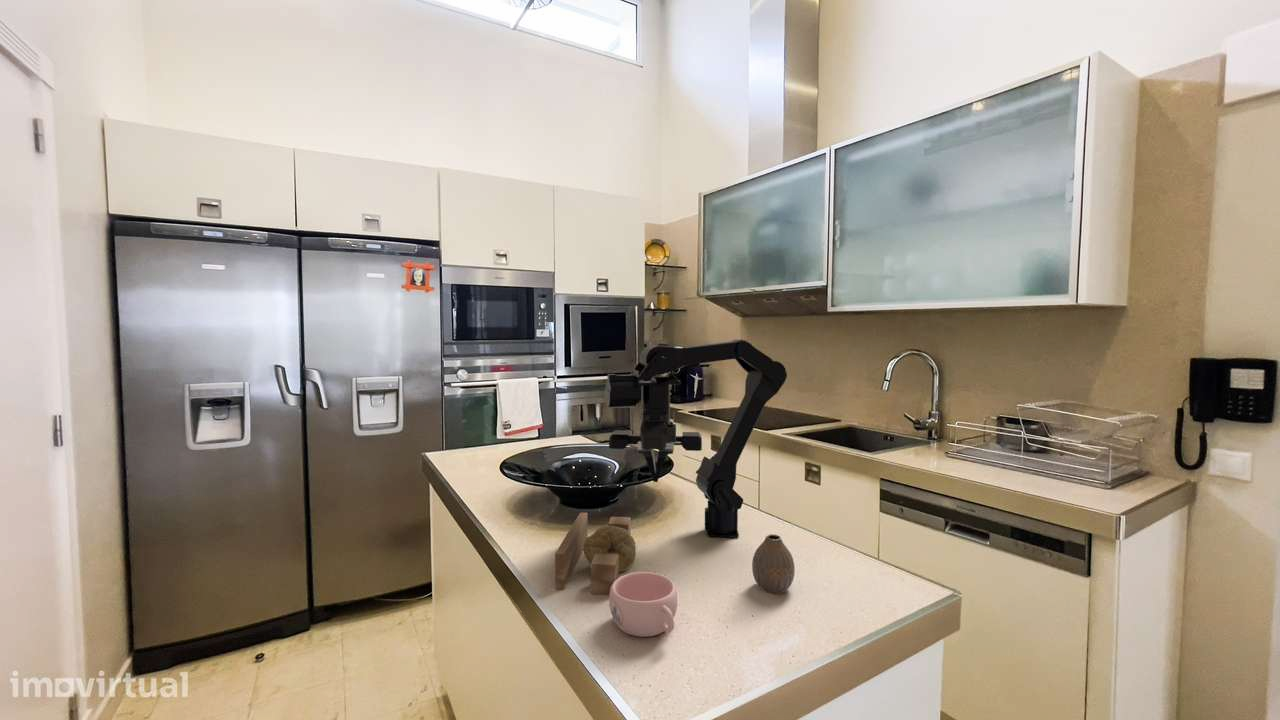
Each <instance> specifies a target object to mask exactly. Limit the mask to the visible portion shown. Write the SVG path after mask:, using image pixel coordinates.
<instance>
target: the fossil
mask: <svg viewBox="0 0 1280 720" xmlns="http://www.w3.org/2000/svg"><path fill="white" fill-rule="evenodd" d="M636 548H637V547H636V541H635V539H634V537H633V536H632V534H631V535H630V534H629V532H628V531H627V530H626V529H623V528H619V527H616V526H608V525H604V526H602V527H600V528H598V529H597V530H596V531H594V532H593V533H592V534H591V535H589V536H588V538H586V540H585V542H584V546H583V554H584V556H585V558H586V560H587V561H588V563H589V565H590V566H591V563H592V560H593V558H594V556H595V554H615V555H619V572H624V571H626V570H629V569H630V568H631V567H632V566H633V564H634V563H635V560H636V557H637V555H636V554H637V551H636V550H637V549H636Z"/></svg>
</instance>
